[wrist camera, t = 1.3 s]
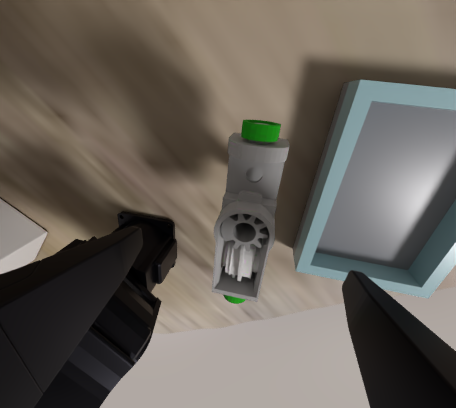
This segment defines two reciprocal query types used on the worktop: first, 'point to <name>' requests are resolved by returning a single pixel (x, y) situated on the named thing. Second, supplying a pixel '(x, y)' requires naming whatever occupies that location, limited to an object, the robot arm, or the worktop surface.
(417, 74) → the worktop surface
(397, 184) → the tray
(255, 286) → the mechanical component
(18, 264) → the milk carton
